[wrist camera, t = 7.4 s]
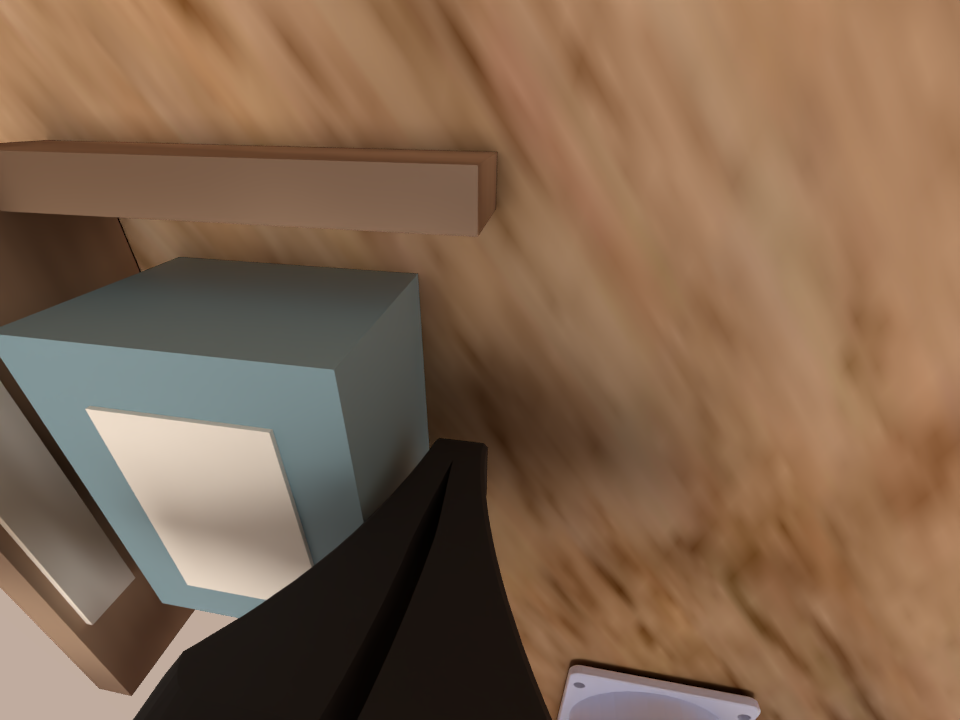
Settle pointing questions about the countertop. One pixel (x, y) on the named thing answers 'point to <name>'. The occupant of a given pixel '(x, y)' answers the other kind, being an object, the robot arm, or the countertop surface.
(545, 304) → the countertop surface
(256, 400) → the carton
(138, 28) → the countertop surface
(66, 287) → the display stand
